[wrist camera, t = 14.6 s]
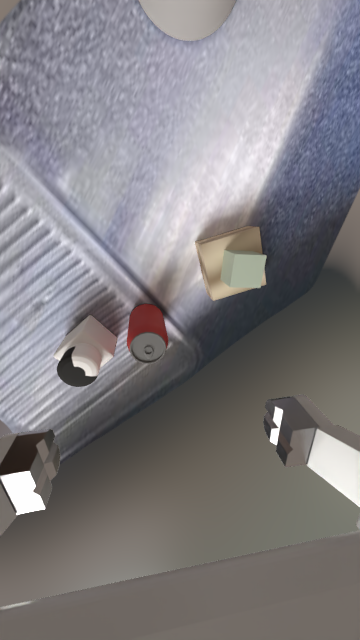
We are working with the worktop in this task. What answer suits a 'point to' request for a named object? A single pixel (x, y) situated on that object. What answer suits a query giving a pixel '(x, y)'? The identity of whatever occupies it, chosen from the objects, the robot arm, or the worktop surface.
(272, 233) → the worktop surface
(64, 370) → the medicine bottle
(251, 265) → the sage block
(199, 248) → the birch block
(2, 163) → the worktop surface
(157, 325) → the beer can
